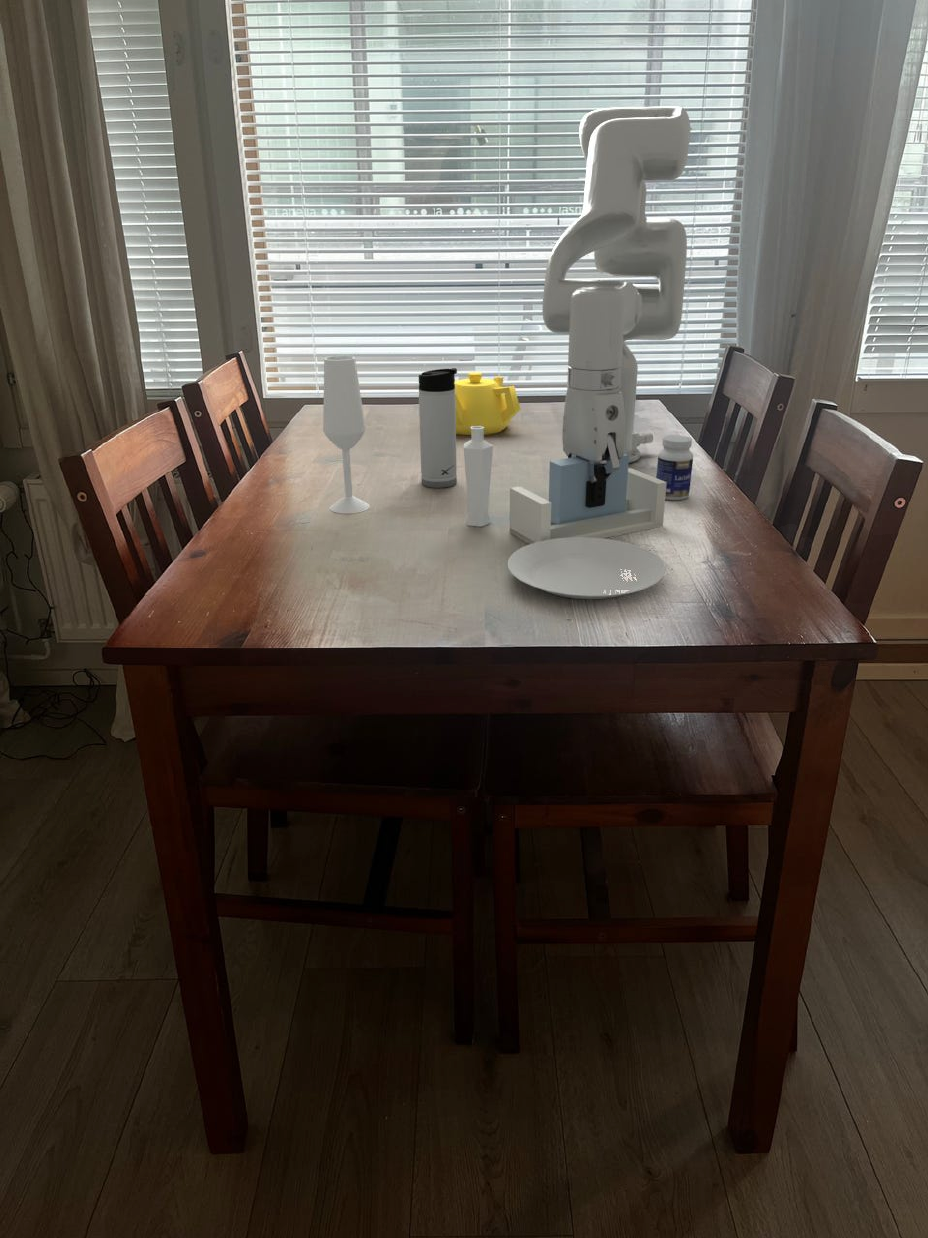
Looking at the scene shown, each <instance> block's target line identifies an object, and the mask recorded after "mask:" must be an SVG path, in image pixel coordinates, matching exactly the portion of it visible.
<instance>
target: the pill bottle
mask: <svg viewBox="0 0 928 1238" xmlns="http://www.w3.org/2000/svg"><path fill="white" fill-rule="evenodd" d="M692 440H693V439H692V438H691V437H689V436H684V435H679V434H678V435H677V434H676V435H675V434H672V435H671V434H670V435H665V436H663V437H662V443H661V444H662V445H661V446H663V449H662V450H660V452H658V457H657V464H656V465H657V467H656V477H655V478H657V479H660V480H662V481H665V482H667V483H666V495H665V501H682V500H686V499H688V498H689V496H690V490H691V481H692V470H693V464H694V463H693V462H694V454H693V453H692V451H691V450H690V448H691V447H692V444H693V441H692Z"/></svg>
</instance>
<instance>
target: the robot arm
mask: <svg viewBox="0 0 928 1238" xmlns="http://www.w3.org/2000/svg"><path fill="white" fill-rule="evenodd" d="M690 140H691V121H690V116H689V113H688V112H687V110H686V108H684V107H681V106H674V105H673V106H669V105H668V106H638V107H637V106H626V107H625V106H624V107H623V106H622V107H607V108H601V109H595V110H592V111H590V112H588V113H586V114H585V115H584V116H583V117H582V119H581V121H580V124H579V142H580V147H581V150H582V154H583V157H584V160H585V163H586V170H585V171H586V173H585V184H584V194H583V199H582V200H583V201H582V210H581V211H582V212H581V215H580V216H579V217H578V218H577V219H575V221H573V223H572V224H570V226H569V227H567V229H565V231H564V232H563V233H562V234H561V236H559V237H560V238H559V239H558V240H557V241H556V244H555V245H554V246H553V248H552V250H551V253H550V255H549V258H548V260H547V264H546V270H545V276H544V286H543V297H542V311H541V313H542V320H543V322H544V325H545V327H546V328H547V330H549V331H550V332H552V333H554V334H559V335H561V334H562V335H568V352H567V353H568V356H567V357H568V358H567V360H568V361H567V383H566V384H567V385H566V386H567V387H566V388H567V389H566V394H565V399H564V408H563V417H562V430H561V431H562V436H561V437H562V438H561V439H562V451H563V453H565V455H566V456H567V458H573V457H581V458H584V459H586V460H589V480H590V481H587V482H586V503H585V506H586V507H588V508H592V507H598V506H603V505H604V504H605V497H606V480H609V476H610V474H611V473H612V472H614V471H617V470H619V468H620V465H619V461H618V460H619V459H622V458H623V455H624V453H625V454H627V455H629V463H628V464H630V463H634V462H636V461H638V460H640V459H641V458H640V457H641V451H640V449H638V447H639V446H641V445H643V444H644V445H646V444H651V443H652V442H654V436H653V434H652V433H651V432H647V433H642V434H640V433H639V432H635V431H634V429H635V428H634V427H635V415H636V401H637V399H636V397H637V387H638V386H637V385H638V371H639V369H638V367H639V366H638V362H637V361H638V360H637V358H636V356H635V355H634V354H633V352H632V350H631V349H630V348H629V347H628V344H626V341H634V340H636V341H637V340H638V341H641V340H642V341H665V340H670V339H673V338H674V337H676V335H677V334H678V332H679V330H680V329H681V328H680V327H681V324H682V317H683V306H684V293H685V292H684V291H685V280H686V271H687V270H686V269H687V267H686V266H687V254H688V253H687V252H688V250H687V249H688V241H687V232H686V228H685V226H684V225H683V223H682V222H681V221H679V220H678V219H674V218H662V217H661V218H649V217H647V216H646V205H647V202H646V201H647V185H646V181H672V180H676V179H678V178H679V177H680V176H681V175H682V174H683V172H684V170H685V167H686V164H687V160H688V157H689V150H690V149H689V148H690V142H691V141H690ZM593 252H594V254H593V255H594V266H595V268H596V271H597V272H599V273H600V274H601V275H603V276H606V277H613V278H615V277H616V278H653V279H656V280H657V281H658V284H636V283H631V282H630V281H625V280H624V281H623V280H600V279H599V280H598V279H597V280H596V279H589V280H587V279H568V280H567V279H566V275H567V273H568V271H569V270H570V268H572V266H573V265H574V264H575V263H577V262H578V261H579V260H580V259H582V258H584V257H586V256H587V255H588V254H591V253H593ZM601 464H602V467H599V469H598V470H597V465H601Z"/></svg>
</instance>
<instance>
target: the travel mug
mask: <svg viewBox="0 0 928 1238" xmlns="http://www.w3.org/2000/svg"><path fill="white" fill-rule="evenodd" d="M457 373H458V369H457V368H456V367H451V368H438V369H433V370H432V369H431V370H427V371H426V370H425V371H424V372H421V374H419V375H418V413H419V415H418V416H419V443H420V445H419V446H420V448H419V449H420V468H421V469H420V474H421V476H420V477H421V479H420V480H421V484H422V485H423V486H424V487H427V488H432V489H442V488H443V489H445V488H450V487H452V486H454V485H456V484H457V482H458V481H457V476H458V475H457V434H456V404H455V384H454V383H455V381H456V379H455V375H457Z"/></svg>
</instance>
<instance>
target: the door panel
mask: <svg viewBox="0 0 928 1238" xmlns="http://www.w3.org/2000/svg"><path fill="white" fill-rule="evenodd" d="M618 461H619V465H620V468H619V470H617V471H614V472H612V473H611V474H610V476H609V480H606V497H605V504H604V505H603V506H598V507H592V508H588V507H586V506H585V503H586V482H587V481H590V480H589V460H586V459H584V458H581V457H573V458H568V457H566V458H562V459H554V460H550V461H549V477H548V501H549V502H551V521H552V522H554V523H556V524H557V525H558V524H564V523H569V522H574V521H580V520H585V519H590V518H596V517H601V516H606V515H612V514H617V513H622V512H625V508H626V493H627V478H628V468H629V464H630V463H629V455H627V454H625V453H624V455H623V458H622V459H619V460H618ZM599 467H602V464H601V465H597V470H598V469H599Z"/></svg>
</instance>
